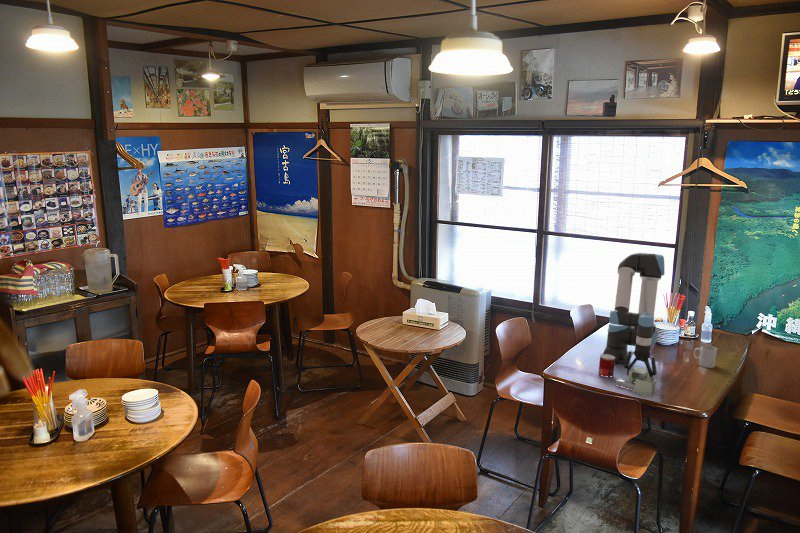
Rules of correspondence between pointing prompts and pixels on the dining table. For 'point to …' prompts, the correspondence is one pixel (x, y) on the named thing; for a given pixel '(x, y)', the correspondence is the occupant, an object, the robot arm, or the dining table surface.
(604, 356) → the canned food
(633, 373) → the beige hollow box
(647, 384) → the pale grey block
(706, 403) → the dining table surface
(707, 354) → the mug
